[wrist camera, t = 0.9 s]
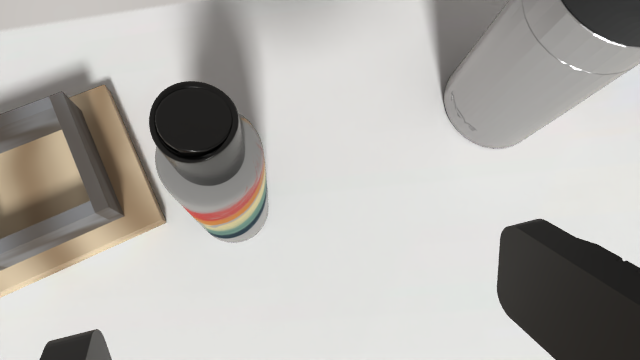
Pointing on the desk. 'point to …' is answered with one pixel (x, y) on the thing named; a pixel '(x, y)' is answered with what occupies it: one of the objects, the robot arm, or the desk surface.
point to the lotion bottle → (210, 159)
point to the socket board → (67, 186)
